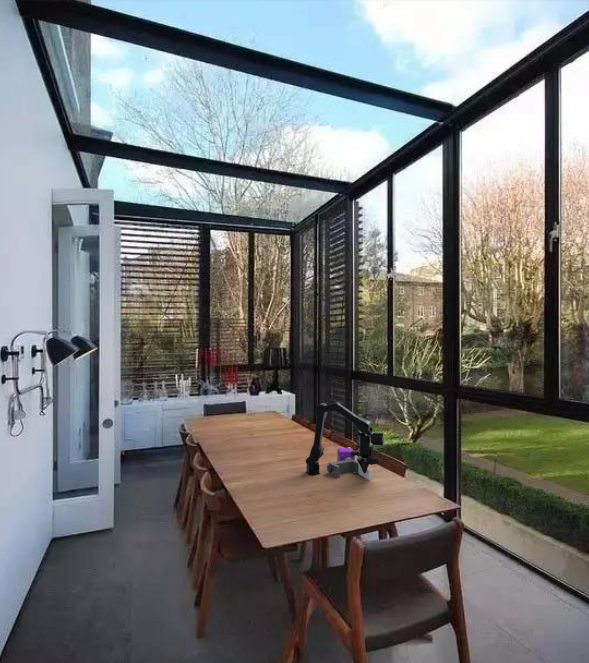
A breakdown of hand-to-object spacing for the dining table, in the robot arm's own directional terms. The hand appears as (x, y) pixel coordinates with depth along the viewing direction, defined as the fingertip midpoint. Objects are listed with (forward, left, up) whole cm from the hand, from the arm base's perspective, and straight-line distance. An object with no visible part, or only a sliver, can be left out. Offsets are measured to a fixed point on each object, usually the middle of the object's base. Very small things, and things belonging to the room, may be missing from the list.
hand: (364, 473), depth 229 cm
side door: (+2, +3, -3) cm, 5 cm away
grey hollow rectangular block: (-4, +13, -4) cm, 14 cm away
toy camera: (+5, +25, -4) cm, 26 cm away
